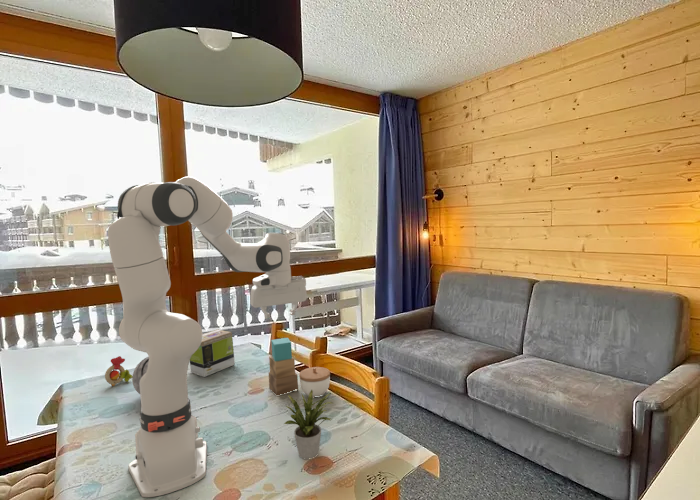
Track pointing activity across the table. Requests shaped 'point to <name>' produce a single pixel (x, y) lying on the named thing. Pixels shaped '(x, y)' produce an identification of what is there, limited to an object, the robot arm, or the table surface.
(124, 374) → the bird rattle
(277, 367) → the block
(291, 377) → the tower bottom
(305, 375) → the lidded jar
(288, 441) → the table surface
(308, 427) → the house plant
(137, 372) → the decorative orb
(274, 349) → the teal block
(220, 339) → the tea box
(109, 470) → the table surface
